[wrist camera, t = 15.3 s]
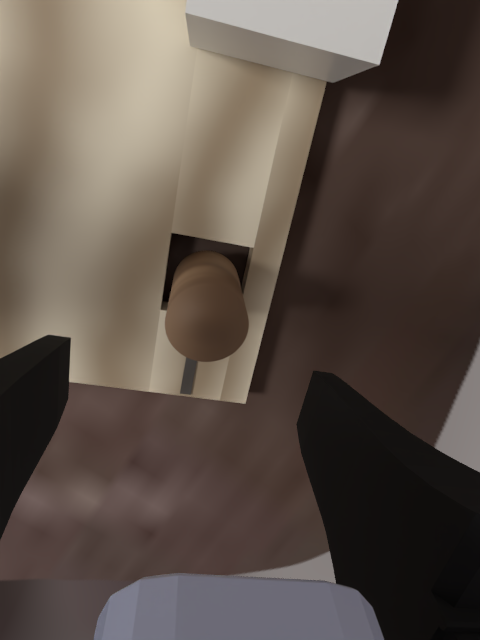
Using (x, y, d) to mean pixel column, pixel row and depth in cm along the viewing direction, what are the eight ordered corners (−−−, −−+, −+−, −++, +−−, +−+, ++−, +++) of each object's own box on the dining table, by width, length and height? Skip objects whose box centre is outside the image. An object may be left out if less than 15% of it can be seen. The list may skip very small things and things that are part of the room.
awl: (171, 295, 22) (159, 355, 16) (180, 237, 21) (171, 278, 15) (229, 305, 23) (239, 367, 17) (242, 249, 21) (257, 293, 15)
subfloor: (-106, 346, 22) (-124, 359, 21) (-216, -447, 12) (-263, -511, 11) (243, 391, 25) (245, 404, 24) (392, -212, 15) (409, -242, 14)
